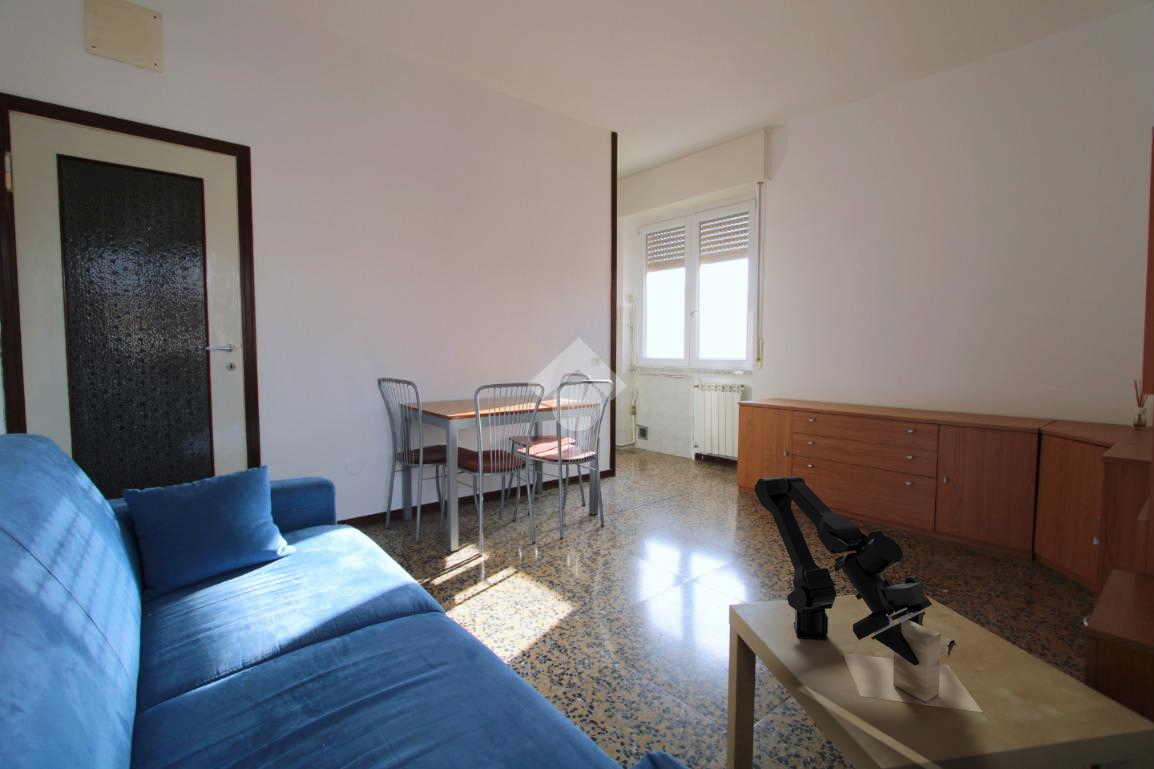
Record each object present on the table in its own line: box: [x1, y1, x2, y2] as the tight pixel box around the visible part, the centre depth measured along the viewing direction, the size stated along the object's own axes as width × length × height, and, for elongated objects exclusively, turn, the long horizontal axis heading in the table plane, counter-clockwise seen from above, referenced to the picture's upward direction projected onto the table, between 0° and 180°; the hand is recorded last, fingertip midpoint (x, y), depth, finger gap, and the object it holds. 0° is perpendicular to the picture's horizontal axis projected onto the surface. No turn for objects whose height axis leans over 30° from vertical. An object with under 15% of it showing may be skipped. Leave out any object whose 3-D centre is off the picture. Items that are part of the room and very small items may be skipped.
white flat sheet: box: [842, 652, 984, 713], centre depth 105 cm, size 20×15×1 cm
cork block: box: [893, 620, 942, 703], centre depth 101 cm, size 6×4×12 cm
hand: (924, 660), depth 100 cm, fingers closed on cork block, 4 cm apart
